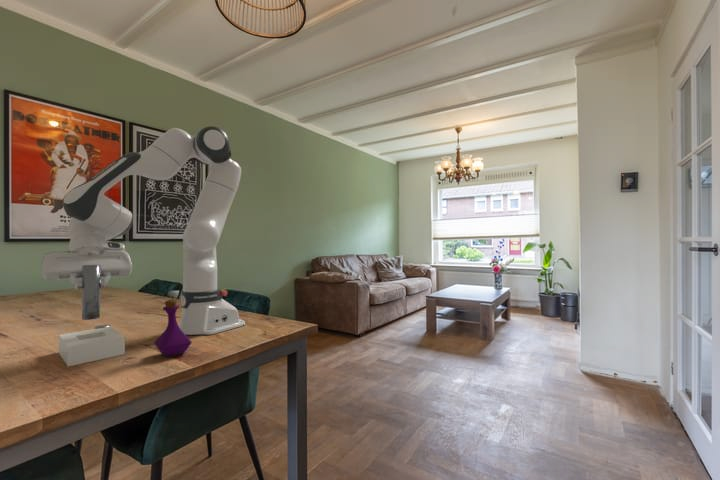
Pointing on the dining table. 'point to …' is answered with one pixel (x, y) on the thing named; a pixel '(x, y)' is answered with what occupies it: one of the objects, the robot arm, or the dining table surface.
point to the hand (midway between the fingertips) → (91, 287)
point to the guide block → (91, 345)
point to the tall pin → (91, 291)
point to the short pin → (102, 326)
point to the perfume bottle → (172, 332)
